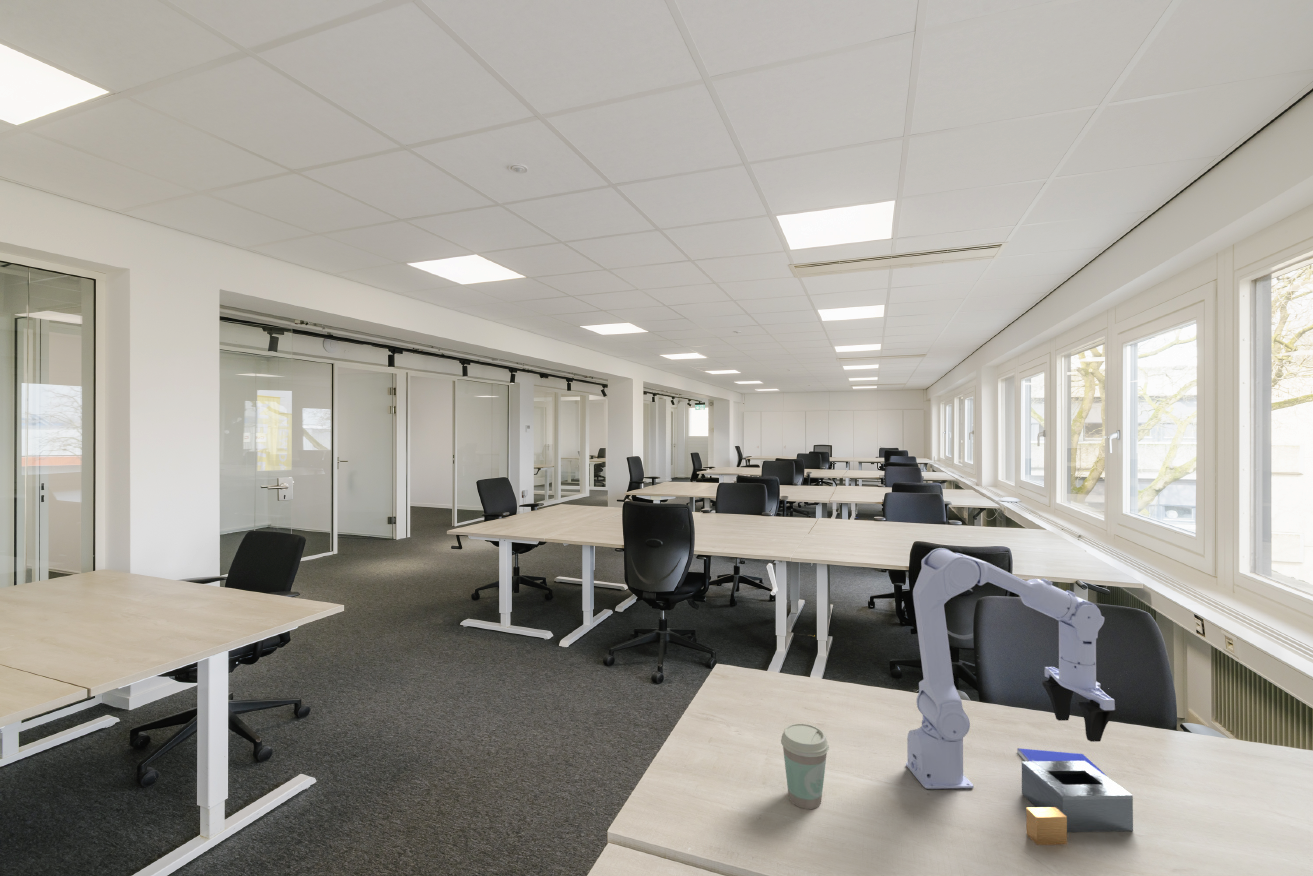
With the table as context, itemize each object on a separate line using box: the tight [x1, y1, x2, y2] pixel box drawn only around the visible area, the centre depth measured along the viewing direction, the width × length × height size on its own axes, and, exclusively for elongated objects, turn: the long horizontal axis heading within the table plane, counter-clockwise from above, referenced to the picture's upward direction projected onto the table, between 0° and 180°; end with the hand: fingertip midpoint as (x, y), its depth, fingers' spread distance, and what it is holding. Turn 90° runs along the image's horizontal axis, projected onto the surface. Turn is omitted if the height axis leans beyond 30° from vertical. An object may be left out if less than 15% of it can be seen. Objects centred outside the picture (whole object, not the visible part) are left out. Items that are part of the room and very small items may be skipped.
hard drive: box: [1016, 748, 1107, 776], centre depth 110 cm, size 2×8×12 cm
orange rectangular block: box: [1025, 806, 1068, 846], centre depth 90 cm, size 5×2×4 cm, turn 91°
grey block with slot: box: [1021, 760, 1134, 833], centre depth 96 cm, size 12×10×6 cm
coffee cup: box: [780, 722, 830, 810], centre depth 100 cm, size 8×8×12 cm
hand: (1077, 729), depth 105 cm, fingers open, 7 cm apart
